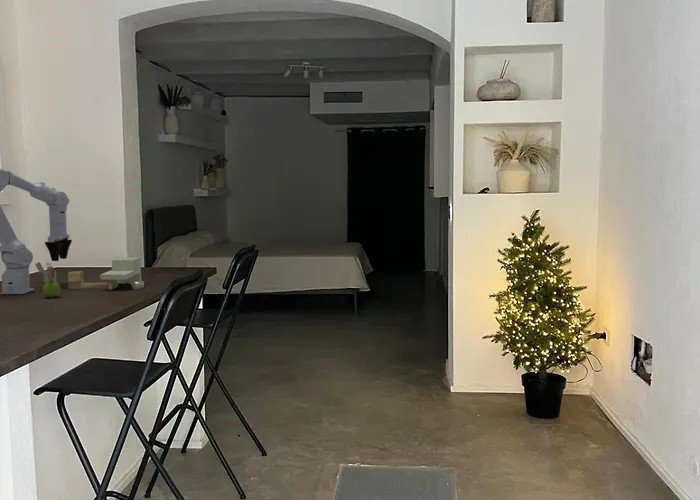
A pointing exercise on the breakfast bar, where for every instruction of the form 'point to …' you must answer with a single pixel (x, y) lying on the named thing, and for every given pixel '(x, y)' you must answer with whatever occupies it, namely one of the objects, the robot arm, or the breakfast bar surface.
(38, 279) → the breakfast bar surface
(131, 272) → the pale chair
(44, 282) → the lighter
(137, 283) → the token
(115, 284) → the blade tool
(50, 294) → the green gourd
